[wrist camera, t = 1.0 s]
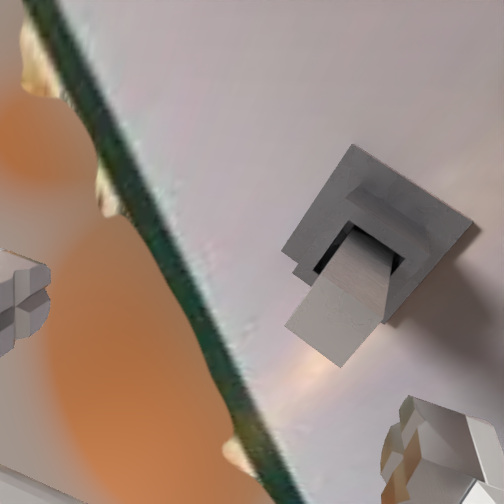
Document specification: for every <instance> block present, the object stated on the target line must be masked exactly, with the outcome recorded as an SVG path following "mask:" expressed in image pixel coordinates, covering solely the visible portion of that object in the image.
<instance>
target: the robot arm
mask: <svg viewBox="0 0 504 504" xmlns="http://www.w3.org/2000/svg"><path fill="white" fill-rule="evenodd" d="M50 283H51V273H50V269H49V268H48V267H47V266H46V265H45V264H43V263H40V262H38V261H35V260H32V259H30V258H27V257H25V256H22V255H19V254H17V253H14V252H11V251H8V250H6V249H3V248H1V247H0V357H1V356H3V355H4V354H6V353H7V352H9V351H10V350H11V349H13V348H14V345H15V340H17V339H22V338H25V337H30V336H31V335H32V334H34V333H35V332H36V331H38V330H39V329H40V328H41V326H42V325H43V323H44V322H45V320H46V319H47V317H48V313H49V310H50V298H49V296H48V294H47V292H46V291H45V288H46V287H47V286H48V285H49V284H50ZM399 415H400V423H397V424H395V425H393V426H391V427H390V430H389V432H388V434H387V436H386V438H385V442H384V445H383V449H382V454H381V463H380V467H381V476H382V477H383V479H384V481H385V482H386V486H385V488H384V490H383V492H382V494H381V504H504V453H503V450H502V448H501V445H500V442H499V440H498V437H497V435H496V432H495V429H494V427H493V426H492V425H491V424H490V423H489V422H488V421H485V420H482V419H479V418H476V417H473V416H470V415H467V414H464V413H459V412H456V411H453V410H450V409H447V408H444V407H441V406H438V405H436V404H433V403H430V402H427V401H424V400H421V399H418V398H415V397H412V396H410V395H408V397H407V398H406V399H405V400H404V402H403V404H402V405H401V407H400V409H399ZM0 504H88V503H85V502H83V501H81V500H79V499H76V498H74V497H72V496H70V495H68V494H65V493H63V492H61V491H59V490H56V489H54V488H52V487H50V486H48V485H46V484H43V483H41V482H39V481H37V480H35V479H32V478H30V477H28V476H25V475H24V474H21V473H19V472H17V471H14V470H12V469H10V468H8V467H6V466H4V465H1V464H0Z"/></svg>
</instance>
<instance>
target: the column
mask: <svg viewBox="0 0 504 504" xmlns="http://www.w3.org/2000/svg"><path fill="white" fill-rule="evenodd" d="M393 253H394V251H393V250H392V249H390V248H389V247H388V246H386V245H385V244H383V243H382V242H380V241H379V240H377V239H376V238H374V237H373V236H371V235H370V234H368V233H367V232H365V231H364V230H363V229H361V228H360V227H358V226H357V225H354V226H353V227H352V229H351V230H350V232H349V233H348V234H347V236H346V237H345V238H344V240H343V241H342V243H341V244H340V245H339V247H338V248H337V250H336V251H335V253H334V254H333V256H332V257H331V259H330V260H329V262H328V263H327V264H326V266H325V267H324V269H323V270H322V272H321V273H320V275H319V276H318V278H317V279H316V281H315V282H314V284H313V285H312V286H311V288H310V289H309V291H308V292H307V294H306V295H305V297H304V298H303V300H302V301H301V303H300V304H299V305H298V307H297V308H296V310H295V311H294V313H293V314H292V316H291V317H290V319H289V320H288V322H287V323H286V324H285V327H286V328H288V329H289V330H290V331H292V332H293V333H294V334H296V335H297V336H298V337H300V338H301V339H302V340H304V341H305V342H306V343H308V344H309V345H310V346H312V347H313V348H314V349H316V350H317V351H318V352H320V353H321V354H322V355H324V356H325V357H326V358H328V359H329V360H330V361H332V362H333V363H334V364H336V365H337V366H338V367H340V368H341V367H342V366H343V365H344V364H345V363H346V361H347V360H348V359H349V358H350V357H351V356H352V354H353V353H354V352H355V351H356V350H357V349H358V348H359V346H360V345H361V344H362V343H363V342H364V341H365V339H366V338H367V337H368V336H369V335H370V334H371V332H372V331H373V330H374V329H375V328H376V327H377V325H378V324H379V323H380V322H381V321H382V320H383V317H384V311H385V304H386V298H387V292H388V285H389V279H390V272H391V266H392V260H393Z"/></svg>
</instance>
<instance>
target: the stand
mask: <svg viewBox="0 0 504 504" xmlns="http://www.w3.org/2000/svg"><path fill="white" fill-rule="evenodd" d="M472 223H473V221H472V220H471V219H470V218H468V217H467V216H465V215H463V214H462V213H460V212H459V211H457V210H456V209H454V208H453V207H451V206H450V205H448V204H446V203H445V202H443V201H442V200H440V199H439V198H437V197H436V196H434V195H432V194H431V193H429V192H428V191H426V190H425V189H423V188H422V187H420V186H418V185H417V184H415V183H414V182H412V181H411V180H409V179H408V178H406V177H404V176H403V175H401V174H400V173H398V172H397V171H395V170H394V169H392V168H390V167H389V166H387V165H386V164H384V163H383V162H381V161H380V160H378V159H377V158H375V157H373V156H372V155H370V154H369V153H367V152H366V151H364V150H363V149H361V148H359V147H358V146H356V145H355V144H351V146H350V147H349V149H348V151H347V152H346V154H345V155H344V157H343V158H342V160H341V161H340V163H339V164H338V166H337V167H336V169H335V170H334V172H333V173H332V175H331V176H330V178H329V179H328V181H327V182H326V184H325V185H324V187H323V188H322V190H321V191H320V193H319V194H318V196H317V197H316V199H315V200H314V202H313V203H312V205H311V206H310V208H309V209H308V211H307V212H306V214H305V215H304V217H303V218H302V220H301V222H300V223H299V225H298V226H297V228H296V229H295V231H294V232H293V234H292V235H291V237H290V238H289V240H288V241H287V243H286V244H285V246H284V247H283V249H282V250H281V251H282V252H283V253H285V254H286V255H287V256H289V257H290V258H292V259H293V260H294V261H296V262H297V263H299V264H298V265H297V267H296V268H295V269H294V271H293V272H292V273H293V274H294V275H296V276H297V277H298V278H300V279H301V280H303V281H304V282H305V283H307V284H308V285H310V286H312V285H313V284H314V282H315V281H316V279H317V278H318V276H319V275H320V273H321V272H322V270H323V269H324V267H325V266H326V264H327V263H328V262H329V260H330V259H331V257H332V256H333V254H334V253H335V251H336V250H337V248H338V247H339V245H340V244H341V243H342V241H343V240H344V238H345V237H346V236H347V234H348V233H349V232H350V230H351V229H352V227H353V226H354V225H357V226H358V227H360V228H361V229H363V230H364V231H365V232H367V233H368V234H370V235H371V236H373V237H374V238H376V239H377V240H379V241H380V242H382V243H383V244H385V245H386V246H388V247H389V248H390V249H392V250H393V251H394V253H393V260H392V266H391V272H390V279H389V285H388V292H387V298H386V304H385V311H384V317H383V320H382V321H381V323H383V324H385V323H386V322H387V321H388V319H389V318H390V317H391V316H392V315H393V314H394V313H395V311H396V310H397V309H398V308H399V307H400V306H401V304H402V303H403V302H404V301H405V300H406V299H407V298H408V296H409V295H410V294H411V293H412V292H413V291H414V290H415V288H416V287H417V286H418V285H419V284H420V283H421V282H422V280H423V279H424V278H425V277H426V276H427V275H428V273H429V272H430V271H431V270H432V269H433V268H434V267H435V265H436V264H437V263H438V262H439V261H440V260H441V259H442V257H443V256H444V255H445V254H446V253H447V252H448V250H449V249H450V248H451V247H452V246H453V245H454V244H455V242H456V241H457V240H458V239H459V238H460V237H461V236H462V234H463V233H464V232H465V231H466V230H467V229H468V227H469V226H470V225H471V224H472Z"/></svg>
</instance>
